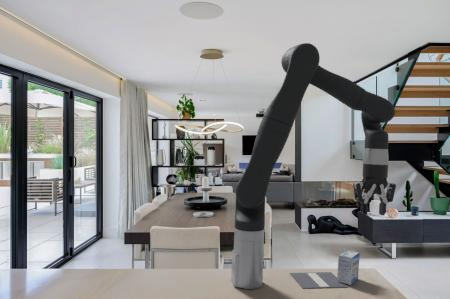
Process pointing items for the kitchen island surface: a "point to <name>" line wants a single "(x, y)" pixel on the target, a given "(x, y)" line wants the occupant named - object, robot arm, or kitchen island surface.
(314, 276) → the mat
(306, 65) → the robot arm
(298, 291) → the kitchen island surface
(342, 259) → the medicine box
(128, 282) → the kitchen island surface
